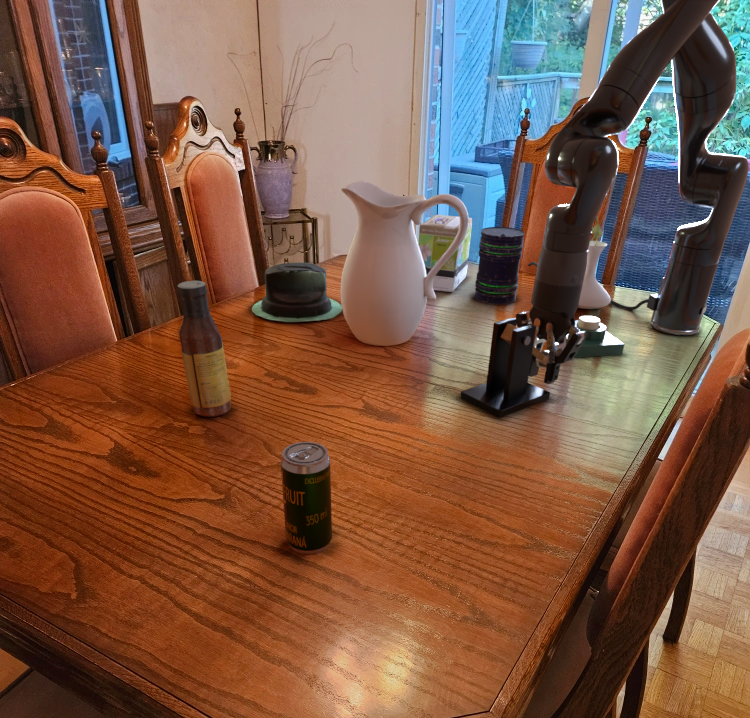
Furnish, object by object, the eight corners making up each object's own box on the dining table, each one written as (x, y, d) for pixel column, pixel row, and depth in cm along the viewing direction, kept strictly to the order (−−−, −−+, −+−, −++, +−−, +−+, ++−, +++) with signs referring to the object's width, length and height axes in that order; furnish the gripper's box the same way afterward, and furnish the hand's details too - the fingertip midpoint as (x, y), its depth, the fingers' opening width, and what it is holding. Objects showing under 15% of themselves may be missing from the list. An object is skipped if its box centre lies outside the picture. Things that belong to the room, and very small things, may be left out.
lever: (537, 368, 116) (546, 352, 115) (551, 374, 114) (561, 357, 113) (496, 338, 105) (506, 319, 105) (511, 344, 103) (521, 325, 103)
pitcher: (327, 343, 131) (323, 189, 115) (360, 318, 144) (361, 176, 128) (443, 363, 123) (456, 202, 108) (467, 334, 136) (482, 186, 121)
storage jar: (474, 290, 162) (481, 225, 154) (515, 293, 161) (524, 227, 153) (473, 303, 154) (480, 235, 145) (516, 305, 153) (526, 237, 144)
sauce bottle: (239, 405, 107) (226, 280, 96) (219, 421, 103) (203, 292, 91) (203, 398, 109) (186, 275, 98) (182, 414, 104) (162, 287, 93)
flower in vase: (569, 295, 161) (590, 181, 147) (616, 304, 155) (642, 187, 141) (547, 308, 152) (567, 189, 138) (596, 318, 146) (621, 195, 132)
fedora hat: (327, 287, 159) (360, 315, 144) (264, 331, 158) (290, 364, 144) (296, 231, 149) (328, 255, 134) (228, 279, 148) (253, 308, 134)
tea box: (454, 293, 160) (459, 228, 152) (414, 288, 162) (417, 224, 154) (467, 277, 172) (473, 216, 164) (429, 273, 174) (433, 212, 166)
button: (573, 324, 132) (575, 316, 131) (592, 323, 133) (594, 315, 132) (583, 331, 129) (584, 322, 128) (602, 330, 130) (603, 321, 129)
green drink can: (309, 522, 81) (305, 435, 74) (341, 540, 78) (340, 451, 71) (276, 543, 78) (269, 453, 71) (309, 562, 75) (305, 471, 68)
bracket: (509, 381, 117) (519, 309, 110) (549, 399, 111) (562, 325, 104) (459, 398, 111) (467, 323, 104) (499, 418, 105) (509, 340, 98)
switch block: (548, 336, 137) (551, 316, 134) (593, 333, 139) (597, 314, 136) (574, 358, 127) (578, 337, 125) (622, 354, 129) (627, 334, 127)
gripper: (610, 285, 103) (587, 388, 112) (540, 265, 112) (524, 362, 122) (580, 291, 99) (558, 398, 108) (510, 270, 108) (495, 370, 118)
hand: (540, 378), depth 115 cm, fingers closed on lever, 3 cm apart
